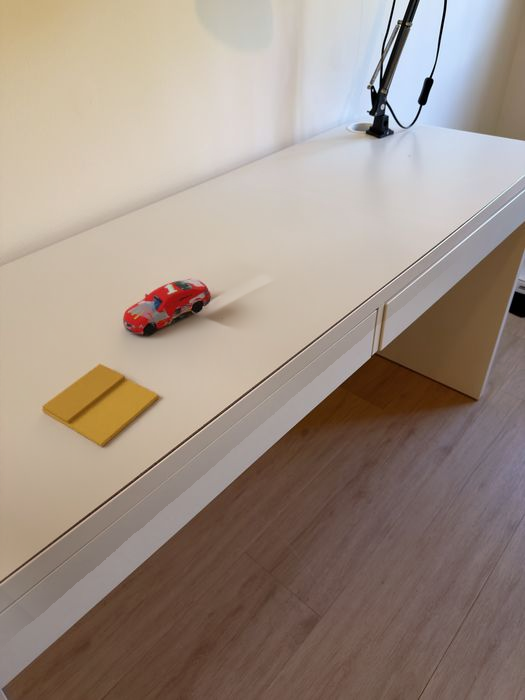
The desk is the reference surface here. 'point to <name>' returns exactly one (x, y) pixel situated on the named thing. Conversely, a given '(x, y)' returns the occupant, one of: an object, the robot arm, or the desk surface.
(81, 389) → the rag
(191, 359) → the desk surface
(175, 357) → the desk surface
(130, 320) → the race car
